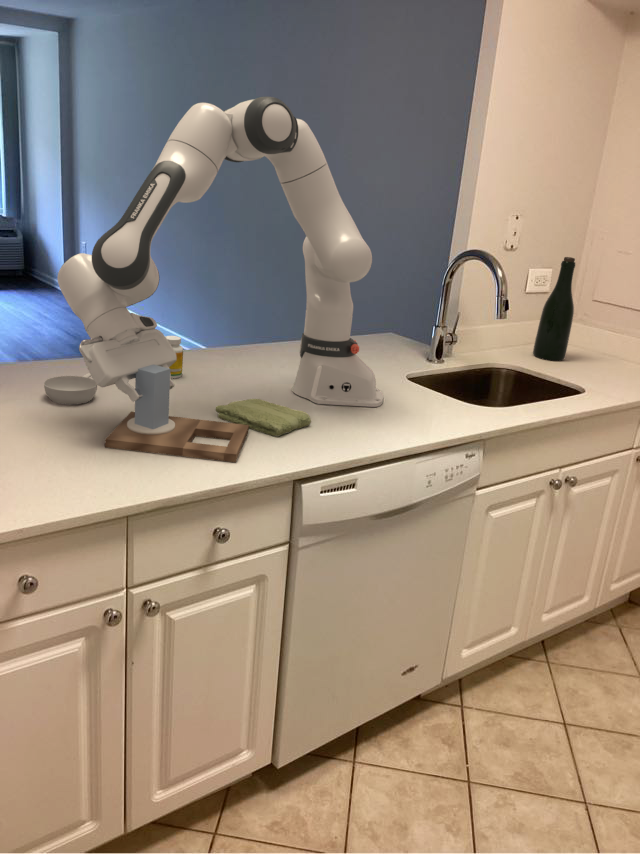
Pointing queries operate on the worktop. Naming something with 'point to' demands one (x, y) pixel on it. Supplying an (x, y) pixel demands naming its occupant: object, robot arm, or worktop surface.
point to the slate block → (152, 396)
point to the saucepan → (70, 389)
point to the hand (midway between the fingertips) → (154, 393)
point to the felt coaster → (148, 431)
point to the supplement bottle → (176, 366)
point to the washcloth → (263, 416)
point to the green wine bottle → (557, 317)
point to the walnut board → (183, 439)
